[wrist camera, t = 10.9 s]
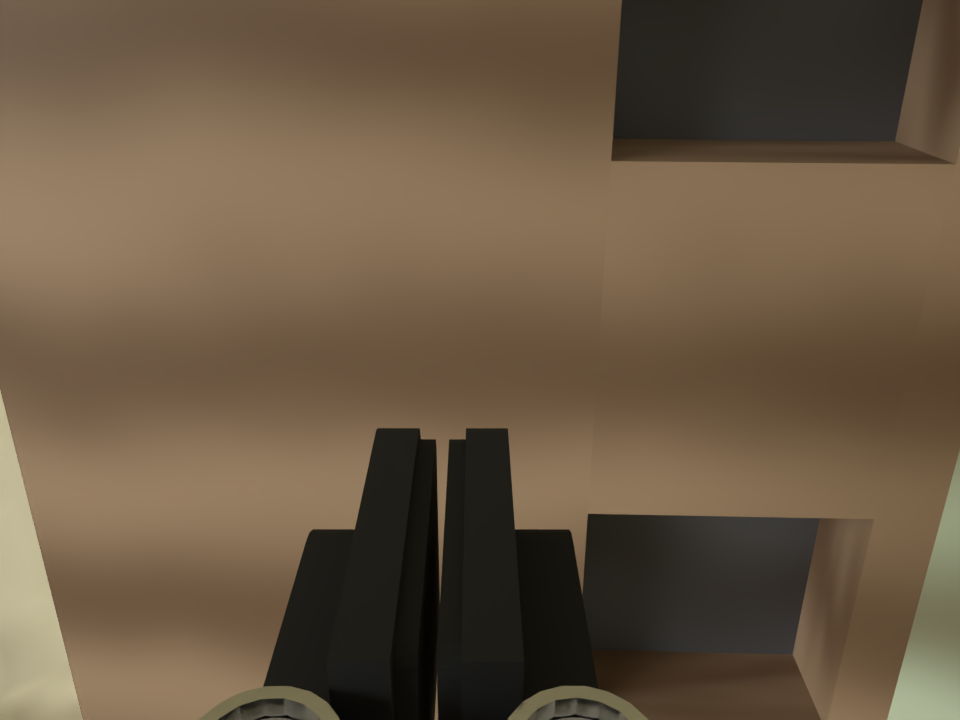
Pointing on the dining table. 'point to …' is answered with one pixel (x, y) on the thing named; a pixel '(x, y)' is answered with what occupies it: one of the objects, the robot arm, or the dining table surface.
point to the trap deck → (495, 324)
